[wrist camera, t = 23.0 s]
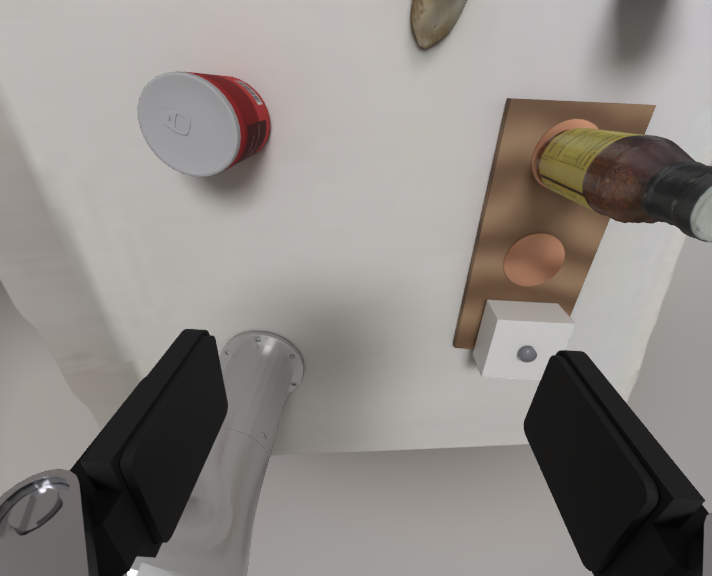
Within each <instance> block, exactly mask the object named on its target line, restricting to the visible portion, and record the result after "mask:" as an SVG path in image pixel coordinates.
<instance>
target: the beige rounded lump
mask: <svg viewBox="0 0 712 576" xmlns="http://www.w3.org/2000/svg"><path fill="white" fill-rule="evenodd" d="M466 2H467V0H413V3H412V10H411V22H412V27H413V30H414V33H415V36H416V39H417V42H418V44H419V45H420V47H421V48H423V49H426V48H429V47H431V46H432V45H433V44H434V43H436V42H437V41H439V40H440V39H442V38H443V37H444V36H446V35H447V34H448V33H449V32H450V30H451V29H452V28H453V26H454V25H455V23H456V22H457V20H458V18H459V16H460V15H461V13H462V11H463V8H464V6H465V4H466Z"/></svg>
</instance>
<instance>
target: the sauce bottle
mask: <svg viewBox="0 0 712 576" xmlns="http://www.w3.org/2000/svg"><path fill="white" fill-rule="evenodd" d="M536 168H537V170H536V171H537V176H538V178H539V180H540V181H541V182H542V183H543V184H545V185H546V186H547V187H548V188H549V189H550V190H551V191H553V192H556V193H558V194H560V195H562V196H564V197H566V198H568V199H570V200H572V201H574V202H576V203H578V204H580V205H582V206H584V207H586V208H588V209H590V210H592V211H594V212H596V213H598V214H601V215H604V216H608V217H610V218H612V219H614V220H616V221H620V222H623V223H628V222H630V223H641V222H645V223H655V222H658V221H660V222H667V223H668V224H670V225H674V226H676V227H678V228H679V229H680V230H681V231H682V232H683V233H684V234H686V235H688V236H690V237H693V238H696V239H698V240H701V241H705V242H712V166H706V165H704V164H702V163H699V162H696V161H695V160H694V159H692V158H691V157H690V156H689V155H688V154H687V153H686V152H685V151H684V150H682V149H681V148H680V147H679V146H678V145H677V144H675V143H674V142H672V141H670V140H668V139H666V138H662V137H658V136H652V135H642V134H633V133H624V132H615V131H607V130H599V129H591V128H575V129H571V130H564V131H561V132H559V133H558V134H556V135H555V136H553V137H552V138H551V139H550V140H549V141H548V142H547V143H546V144H545V145H544V146H543V147H542V148H541V150H540V151H539V155H538V158H537V165H536Z"/></svg>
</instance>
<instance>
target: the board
mask: <svg viewBox="0 0 712 576" xmlns="http://www.w3.org/2000/svg"><path fill="white" fill-rule="evenodd" d="M655 107H656V105H642V104H620V103H598V102H576V101H554V100H532V99H510V98H507V101H506V106H505V111H504V115H503V120H502V124H501V129H500V133H499V138H498V142H497V147H496V151H495V156H494V160H493V165H492V169H491V174H490V178H489V183H488V187H487V192H486V196H485V201H484V206H483V210H482V215H481V219H480V224H479V228H478V233H477V237H476V242H475V246H474V251H473V255H472V260H471V264H470V269H469V273H468V278H467V282H466V287H465V291H464V296H463V301H462V305H461V310H460V314H459V319H458V323H457V328H456V332H455V337H454V341H453V344H454V347H455V348H464V349H474V348H475V344H476V340H477V336H478V332H479V329H480V325H481V321H482V317H483V313H484V309H485V306H486V302H487V300H503V301H521V302H539V303H558V304H559V305H560V306H561V308H562V309H563V310H564V311H565V312H566V313H567V315H568V316H569V317H570V315H571V313H572V310H573V308H574V305H575V303H576V301H577V298H578V296H579V293H580V291H581V288H582V286H583V283H584V281H585V279H586V276H587V274H588V271H589V269H590V266H591V264H592V261H593V259H594V256H595V254H596V252H597V249H598V247H599V244H600V242H601V239H602V237H603V234H604V232H605V230H606V227H607V225H608V222H609V220H610V217H608V216H604V215H601V214H598V213H596V212H594V211H592V210H590V209H588V208H586V207H584V206H582V205H580V204H578V203H576V202H574V201H572V200H570V199H568V198H566V197H564V196H562V195H560V194H558V193H556V192H553V191H551V190H550V189H549V188H548V187H547V186H546V185H545V184H543V183H542V182H541V181H540V180H539V178H538V176H537V171H536V170H537V168H536V165H537V158H538V155H539V151H540V150H541V148H542V147H543V146H544V145H545V144H546V143H547V142H548V141H549V140H550V139H551V138H552V137H553V136H555V135H556V134H558V133H559V132H561V131H564V130H571V129H575V128H591V129H599V130H607V131H615V132H624V133H633V134H642V135H644V134H645V132H646V129H647V127H648V124H649V122H650V119H651V117H652V114H653V112H654V109H655Z"/></svg>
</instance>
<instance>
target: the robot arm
mask: <svg viewBox="0 0 712 576" xmlns="http://www.w3.org/2000/svg"><path fill="white" fill-rule="evenodd" d="M222 372H223V373H222ZM303 373H304V363H303V359H302V357H301V355H300V353H299V352H298V350H297V349H296V348H295V347H294V346H293V345H292V344H291V343H290V342H288V341H287V340H285V339H283V338H282V337H280V336H277V335H275V334H271V333H267V332H260V331H252V332H246V333H242V334H239V335H237V336H235V337H234V338H232V339H231V340H229V342H228V343H227V344H226V345H225V347H224V349H223V350H222V353H221V356H220V360H219V355H218V350H217V345H216V340H215V337H214V336H210V335H209V332H208V331H207V330H195V329H185V330H183V331H182V332H181V334H180V335H179V336H178V337H177V339H176V340H175V341H174V342H173V344H172V345H171V346H170V348H169V349H168V350H167V351H166V353H165V354H164V355H163V356H162V358H161V359H160V360H159V361H158V363H157V364H156V365H155V367H154V368H153V369H152V370H151V372H150V373H149V374H148V375H147V376H146V377H145V378H144V379H143V380H142V381H141V382H140V383H139V384H138V385H137V387H136V388H135V389H134V390H133V392H132V393H131V394H130V395H129V397H128V398H127V399H126V401H125V402H124V403H123V404H122V406H121V407H120V408H119V409H118V411H117V412H116V413H115V414H114V416H113V417H112V418H111V419H110V421H109V422H108V423H107V424H106V426H105V427H104V428H103V429H102V431H101V432H100V433H99V435H98V436H97V437H96V438H95V439H94V441H93V442H92V443H91V445H90V446H89V447H88V448H87V450H86V451H85V452H84V453H83V455H82V456H81V457H80V458H79V460H78V461H77V462H76V463H75V465H74V466H73V467H72V468H71V470H70V471H69V470H63V469H55V470H48V471H44V472H41V473H38V474H36V475H33V476H31V477H29V478H27V479H25V480H23V481H21V482H19V483H18V484H16V485H15V486H14V487H12V488H11V489H10V490H8V491H7V492H5V493H4V494H3V495H2V496H1V497H0V576H247V571H248V564H249V555H250V547H251V538H252V531H253V524H254V518H255V513H256V508H257V503H258V498H259V495H260V491H261V486H262V483H263V479H264V476H265V472H266V468H267V465H268V461H269V458H270V454H271V451H272V447H273V444H274V440H275V436H276V433H277V429H278V426H279V422H280V418H281V415H282V411H283V408H284V404H285V401H286V397H287V394H289V393H291V392H292V391H294V390H295V389H296V388H297V387H298V385H299V384H300V383H301V380H302V377H303ZM524 432H525V435H526V437H527V439H528V442H529V444H530V446H531V448H532V450H533V453H534V455H535V457H536V459H537V462H538V464H539V466H540V469H541V471H542V473H543V475H544V477H545V480H546V482H547V484H548V487H549V489H550V491H551V493H552V496H553V498H554V500H555V502H556V505H557V507H558V509H559V511H560V514H561V516H562V518H563V520H564V523H565V525H566V527H567V529H568V532H569V534H570V536H571V538H572V541H573V543H574V545H575V547H576V550H577V552H578V554H579V556H580V559H581V561H582V563H583V565H584V566H585V567H586V568H587V569H588V570H589V571H592V573H593V574H594V576H712V513H710V514H709V513H708V512H707V510H706V509H705V508H704V507H703V505H702V504H703V502H704V501H705V500H704V499H703V497H702V496H701V495H700V494H699V492H698V491H697V490H696V489H695V487H694V486H693V485H692V484H691V482H690V481H689V480H688V479H687V477H686V476H685V475H684V474H683V473H682V471H681V470H680V469H679V468H678V466H677V465H676V464H675V463H674V461H673V460H672V459H671V458H670V457H669V455H668V454H667V453H666V452H665V450H664V449H663V448H662V447H661V445H660V444H659V443H658V442H657V440H656V439H655V438H654V437H653V436H652V434H651V433H650V432H649V431H648V429H647V428H646V427H645V426H644V424H643V423H642V422H641V421H640V420H639V418H638V417H637V416H636V415H635V413H634V412H633V411H632V410H631V408H630V407H629V406H628V405H627V403H626V402H625V401H624V400H623V399H622V397H621V396H620V395H619V394H618V392H617V391H616V390H615V389H614V387H613V386H612V385H611V384H610V383H609V381H608V380H607V379H606V378H605V376H604V375H603V374H602V373H601V371H600V370H599V369H598V368H597V367H596V365H595V364H594V363H593V362H592V360H591V359H590V358H589V357H588V355H587V354H585V353H584V352H582V351H567V350H560V351H558V352H557V353H556V355H552V356H551V357H550V358H549V361H548V363H547V366H546V368H545V371H544V373H543V376H542V378H541V381H540V383H539V386H538V388H537V391H536V393H535V395H534V398H533V400H532V403H531V405H530V408H529V410H528V413H527V415H526V418H525V421H524Z"/></svg>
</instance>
